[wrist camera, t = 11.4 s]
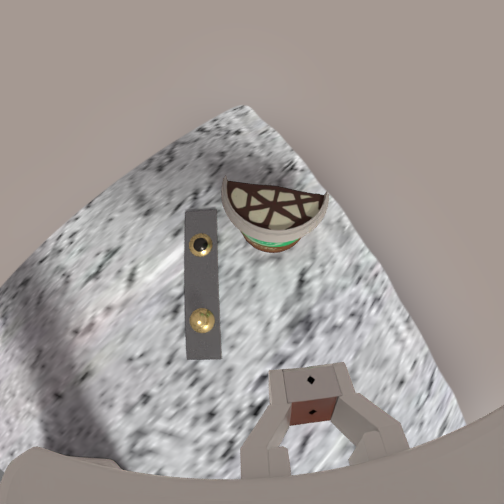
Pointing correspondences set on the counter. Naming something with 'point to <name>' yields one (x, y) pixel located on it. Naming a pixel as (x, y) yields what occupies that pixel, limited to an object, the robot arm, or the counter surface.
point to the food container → (272, 213)
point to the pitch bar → (202, 286)
